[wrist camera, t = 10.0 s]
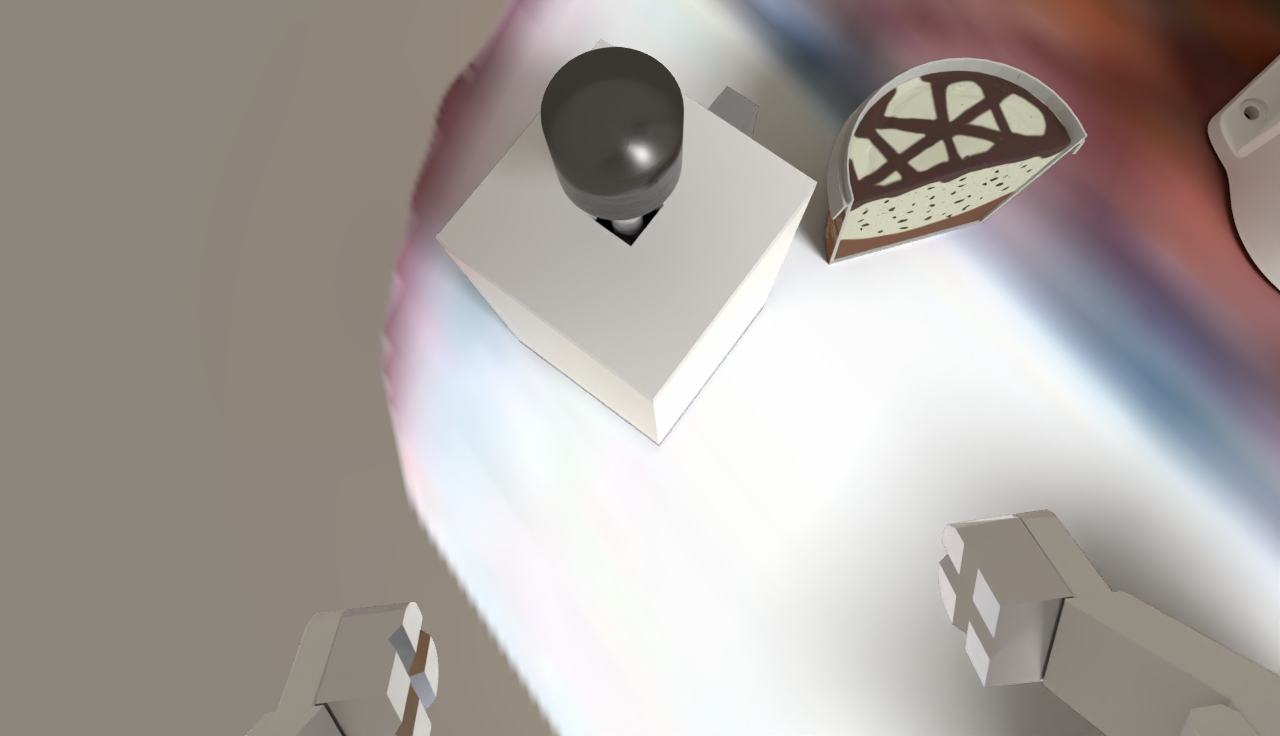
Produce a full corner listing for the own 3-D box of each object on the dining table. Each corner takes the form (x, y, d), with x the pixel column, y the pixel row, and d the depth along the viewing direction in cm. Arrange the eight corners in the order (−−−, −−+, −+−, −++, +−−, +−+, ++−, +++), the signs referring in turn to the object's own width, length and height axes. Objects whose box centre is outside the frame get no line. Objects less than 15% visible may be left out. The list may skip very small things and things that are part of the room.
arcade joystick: (653, 176, 47) (645, -14, 30) (790, 270, 46) (860, 125, 29) (521, 342, 45) (435, 237, 29) (659, 446, 44) (652, 399, 27)
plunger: (632, 259, 42) (599, 21, 22) (691, 301, 42) (712, 97, 22) (587, 316, 42) (511, 126, 22) (647, 360, 41) (625, 206, 21)
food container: (970, 123, 47) (1049, 18, 37) (1006, 216, 46) (1098, 132, 36) (773, 176, 47) (800, 84, 37) (804, 271, 46) (841, 202, 36)
